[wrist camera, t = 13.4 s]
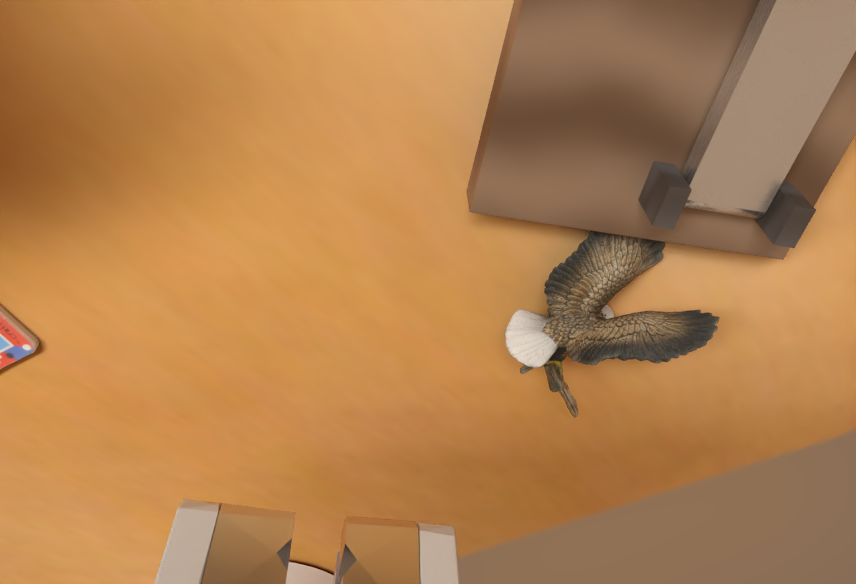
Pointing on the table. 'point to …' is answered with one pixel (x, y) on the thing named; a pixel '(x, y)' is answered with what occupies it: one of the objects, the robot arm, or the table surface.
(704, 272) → the table surface
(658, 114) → the base
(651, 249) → the eagle figurine
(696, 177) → the bar
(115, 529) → the table surface
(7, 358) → the puzzle board
